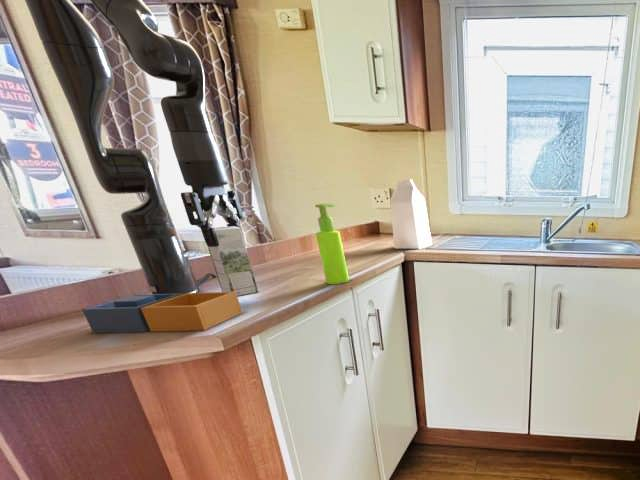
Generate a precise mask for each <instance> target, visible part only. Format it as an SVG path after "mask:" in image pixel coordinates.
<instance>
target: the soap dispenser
mask: <svg viewBox="0 0 640 480" xmlns="http://www.w3.org/2000/svg"><path fill="white" fill-rule="evenodd" d="M314 206H315V208H318V209H319V214H320V216H319V217H318V218H317V221H318V226H319V231H317V232H315V235H316V241H317V246H318V250H319V254H320V258H321V262H322V267H323V272H324V276H325V281H326V284H328V285H340V284H346V283H349V282H350V277H349V272H348V268H347V261H346V258H345V251H344V247H343V243H342V238H341V232H340V230H335V227H334V223H333V218H332V217H331V216H330V215H328V210H327V207H328V208H335V206H336V205H335V204H332V203H318V204H315V205H314Z"/></svg>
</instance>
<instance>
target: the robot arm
mask: <svg viewBox="0 0 640 480" xmlns="http://www.w3.org/2000/svg"><path fill="white" fill-rule="evenodd" d="M24 1H25V4H26V6H27V9H28V11H29V13H30V16H31V18H32V21H33V24H34V26H35V28H36V29H35V30H36V31H37V35H38V36H39V39H40V41H41V45H42V46H43V49H44V52H45V54H46V56H47V58H48V61H49V64H50V65H51V69H52V70H53V73H54V75H55V77H56V79H57V81H58V84H59V85H60V88H61V90H62V92H63V94H64V97H65V99H66V101H67V103H68V105H69V109H70V110H71V113H72V116H73V118H74V121H75V124H76V126H77V129H78V132H79V135H80V137H81V141H82V143H83V146H84V149H85V151H86V154H87V157H88V160H89V163H90V167H91V168H92V171H93V173H94V176H95V178H96V180H97V182H98V184H99V185H100V187H101V188H102V190H103V191H105V192H106V193H108V194H110V195H111V194H112V195H122V194H124V195H126V194H127V195H128V194H145V195H146V198H145V200H144V201H143V202H142V203H140V204H139V205H138V206H135V207H133V208H130V209H127V210H125V211H123V212H121V214H120V217H121V221H122V223H123V226H124V228H125V230H126V233H127V235H128V238H129V240H130V242H131V245H132V247H133V250H134V252H135V254H136V258H137V260H138V262H139V265H140V267H141V269H142V272H143V274H144V278H145V280H146V282H147V284H148V285H146V288H147V291H148V292H151V294H178V293H182V294H186V293H199V292H200V290H201V289H200V286H199V285H200V284H201V283H203V282H205V281H207V280H208V279H209V278H211V277H212V278H213V279H216V278H218V277H217V274H216V273H213V272H209V273H206V274H205V275H204V276H203V277H201V278H199V279H196V278H197V277H196V275H195V273H194V270H193V267H192V265H191V262H190V259H189V256H188V254H186V253H185V252H184V250H183V247H182V244H181V242H180V239H179V236H178V234H177V231H176V228H175V225H174V222H173V220H172V217H171V215H170V212H169V209H168V207H167V203H166V201H165V198H164V195H163V192H162V188H161V184H160V181H159V178H158V174H157V171H156V167H155V165H154V163H153V161H152V158H151V157H150V155H149V153H148V152H146V151H145V150H144V149H142V148H134V147H133V148H131V147H130V148H128V147H126V148H125V147H124V148H123V147H104V145H103V142H102V127H103V121H104V116H105V112H106V110H107V106H108V104H109V101H110V99H111V96H112V93H113V90H114V85H115V74H114V72H113V68H112V66H111V63H110V60H109V56H108V54H107V51H106V49H105V46H104V44H103V43H104V42H103V40H102V38H101V36H100V34H99V33H98V32H97V30H96V29H95V27H94V26H93V25H92V24H91V22H90V21H89V20H88V19H87V17H86V16H85V15H84V14H83V13H82V12H81V10H79V8H78V7H77V6H76V5H75V4H74V3H73V1H72V0H24ZM89 1H90V2H91V4H92V5H93V6H94V8H96V10H97V11H98V12H99V13H100V14H101V15H102V17H104V18H105V20H107V22H108V23H109V24H110V25H111V26H112V27H113V29H115V31H116V32H117V35H118V36H119V38H120V39H121V41H122V44H123V45H124V47H125V48H126V50H127V52H128V54H129V56H130V57H131V59H132V61H133V62H134V64H135V65H136V66H137V67H138V68H139V69H140V70H142V71H143V72H144V73H146V74H147V75H148V76H151V77H153V78H155V79H159V80H162V81H163V80H164V81H169V82H173V83H175V87H176V88H175V95H167V96H164V97H162V98H161V100H160V105H161V106H160V107H161V110H162V113H163V117H164V120H165V123H166V126H167V129H168V132H169V136H170V139H171V145H172V149H173V152H174V155H175V157H176V161H177V164H178V167H179V169H180V173H181V176H182V179H183V181H184V185H186V186H189V187H191V192H190V191H188V192H187V191H186V192H181V193H180V197H181V200H182V203H183V206H184V209H185V213H186V216H187V219H188V222H189V224H190V225H191V226H196V227H198V228H199V229H200V231H201V234H202V236H203V240H204V242H205V244H206V246H207V248H208V247H216V246H219V242H218V239H217V236H216V233H215V230H214V228H215V227H213V225H214V219H215V218H216V217H217V215H218V216H220V217H222V218H223V220H224V221H225V222H226V227H229V226H235V227H238V228H240V224H239V223H240V222H241V220H244V213H243V209H242V207H241V204H240V200H239V197H238V193H237V191H236V190H226V188H225V187H224V186H226V185H228V184H229V180H228V176H227V173H226V170H225V167H224V163H223V160H222V156H221V153H220V150H219V146H218V144H217V141H216V139H215V138H214V134H213V131H212V126H211V124H210V120H209V117H208V114H207V111H206V110H207V109H206V85H205V84H206V83H205V82H206V81H205V80H206V79H205V78H206V77H205V70H204V65H203V61H202V60H201V58H200V56H199V54H198V52H197V51H196V49H195V48H194V47H193V46H192V45H191V44H190V43H188V42H187V41H185V40H184V39H181V38H178V37H174V36H170V35H167V34H164V33H160V32H159V24H158V21H157V20H158V19H156V17H155V15H154V13H153V12H152V11H151V10H150V8H149V7H148V5H147V4H146V3H145V2H144V1H143V0H89ZM194 212H195V213H194ZM195 215H196V216H197V217H195ZM240 229H241V228H240Z"/></svg>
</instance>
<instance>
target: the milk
mask: <svg viewBox="0 0 640 480" xmlns="http://www.w3.org/2000/svg"><path fill="white" fill-rule="evenodd" d="M389 207H390V218H391V228H392V237H393V248H394V249H406V250H407V249H408V250H409V249H415V250H416V249H417V250H419V249H423V248H427V247H429V246H430V247H431V246H433V241H432V234H431V229H430V223H429V216H428V210H427V205H426V199H425V197H424V196H423V194H422V193H421V192H420V191H419V190H418V188H417V187H416V185H415V183H414V181H413V179H397V182H396V188H395V189H394V191H393V194H392V195H391V197H390V200H389Z"/></svg>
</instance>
